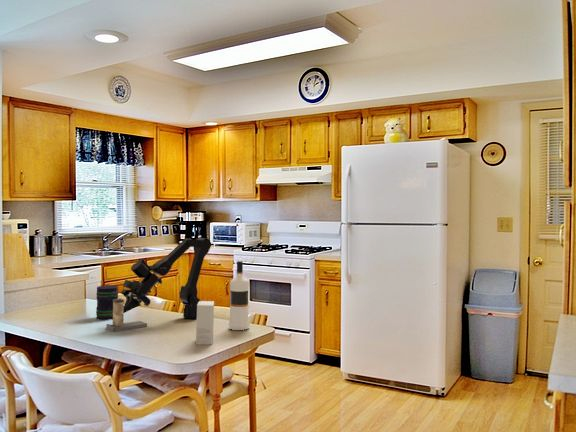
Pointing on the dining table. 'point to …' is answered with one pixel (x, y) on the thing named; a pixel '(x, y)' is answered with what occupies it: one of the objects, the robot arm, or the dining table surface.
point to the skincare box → (205, 323)
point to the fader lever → (118, 312)
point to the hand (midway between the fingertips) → (122, 312)
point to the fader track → (126, 326)
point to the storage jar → (105, 301)
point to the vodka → (239, 300)
